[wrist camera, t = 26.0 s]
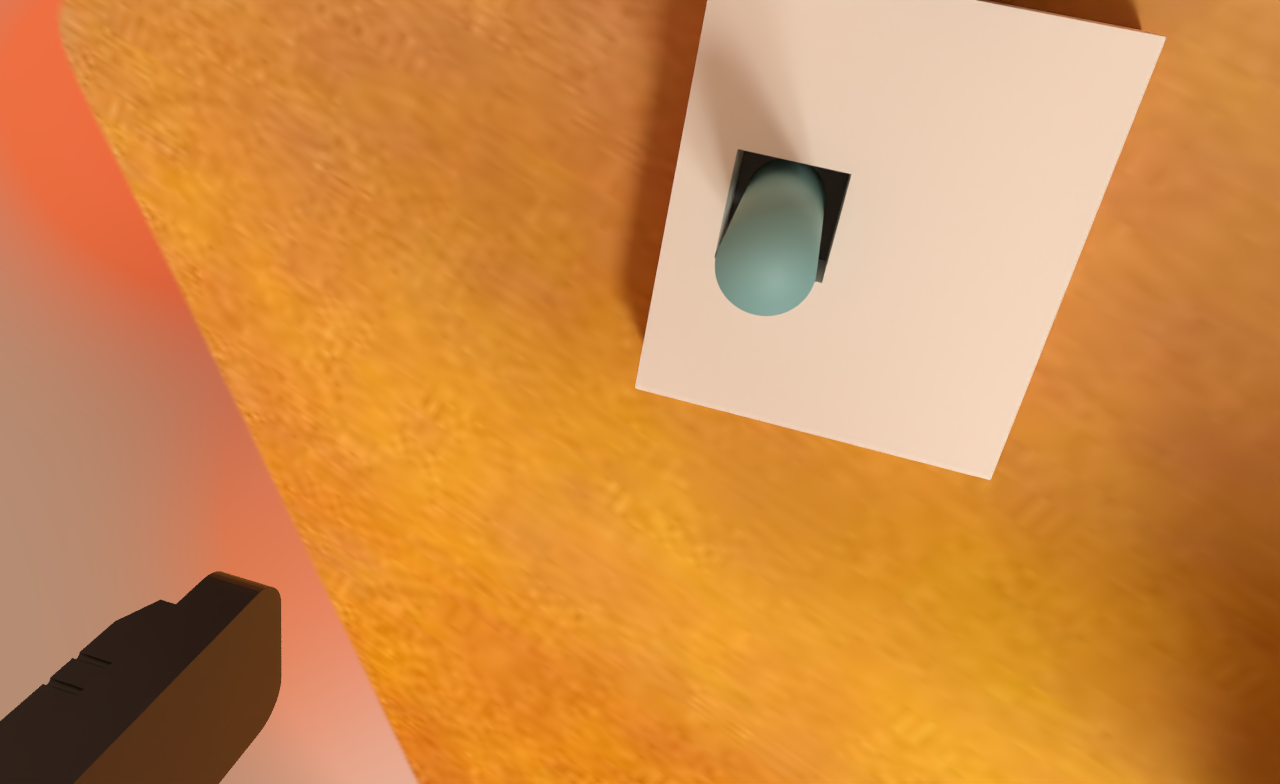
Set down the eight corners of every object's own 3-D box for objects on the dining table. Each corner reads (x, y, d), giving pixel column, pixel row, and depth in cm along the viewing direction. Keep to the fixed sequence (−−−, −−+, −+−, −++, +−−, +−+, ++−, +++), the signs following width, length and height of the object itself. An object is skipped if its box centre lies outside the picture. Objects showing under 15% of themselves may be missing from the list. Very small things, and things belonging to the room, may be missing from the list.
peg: (815, 243, 36) (804, 325, 28) (739, 228, 37) (706, 304, 29) (834, 166, 35) (827, 229, 27) (754, 150, 35) (724, 208, 27)
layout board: (982, 443, 38) (990, 480, 36) (651, 359, 40) (634, 388, 38) (1142, 30, 31) (1166, 36, 29) (729, -50, 33) (716, -50, 30)
